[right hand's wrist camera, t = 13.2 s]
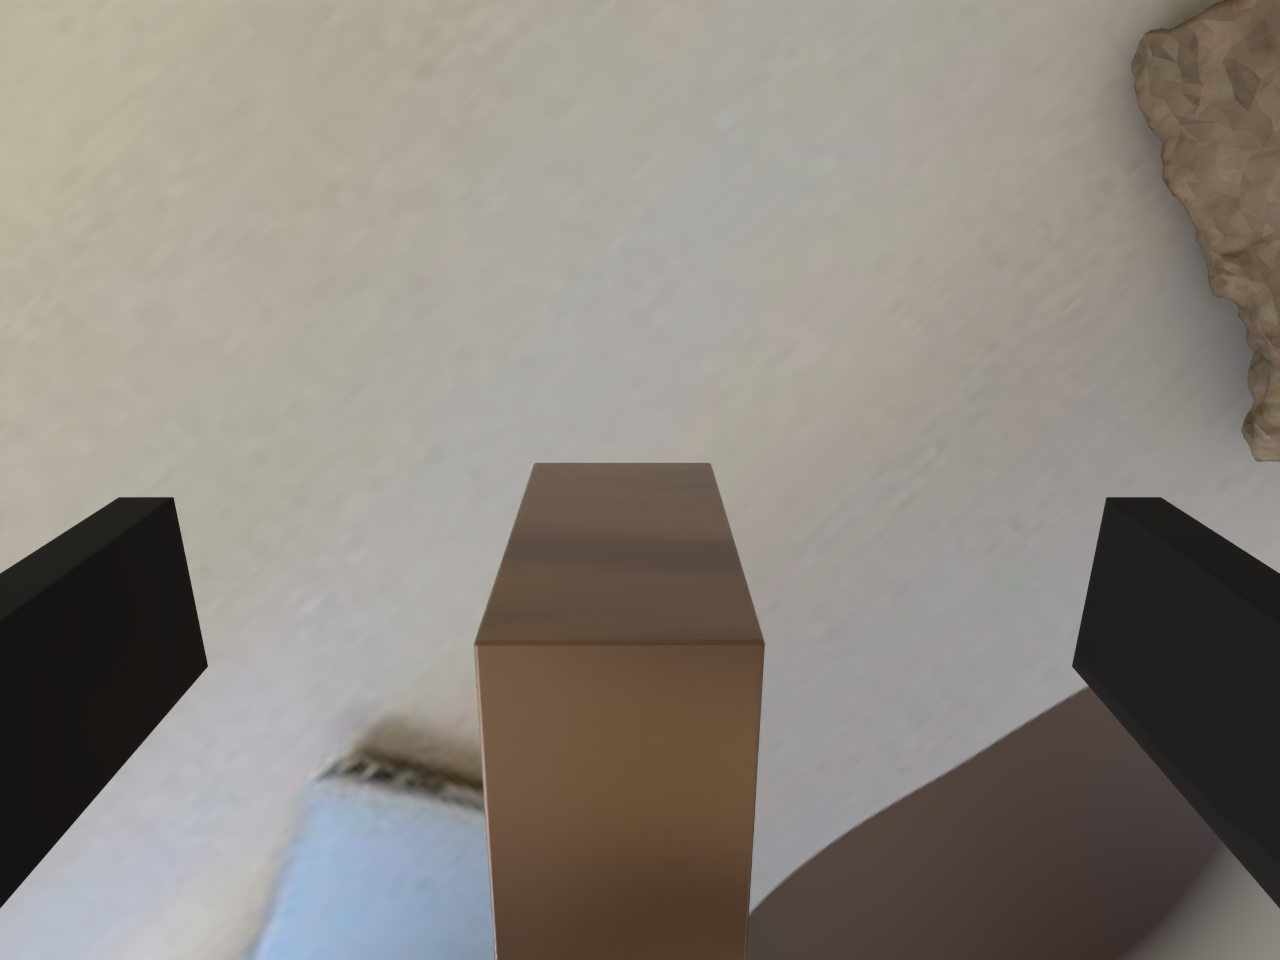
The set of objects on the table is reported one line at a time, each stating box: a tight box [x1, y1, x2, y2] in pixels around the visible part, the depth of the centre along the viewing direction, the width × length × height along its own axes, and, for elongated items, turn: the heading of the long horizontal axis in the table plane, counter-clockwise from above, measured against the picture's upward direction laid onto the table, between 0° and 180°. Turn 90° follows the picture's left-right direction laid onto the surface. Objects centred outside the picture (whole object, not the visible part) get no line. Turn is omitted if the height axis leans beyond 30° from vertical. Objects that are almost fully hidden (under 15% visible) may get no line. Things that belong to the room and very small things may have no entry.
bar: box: [474, 463, 765, 960], centre depth 21 cm, size 23×4×9 cm, turn 0°
